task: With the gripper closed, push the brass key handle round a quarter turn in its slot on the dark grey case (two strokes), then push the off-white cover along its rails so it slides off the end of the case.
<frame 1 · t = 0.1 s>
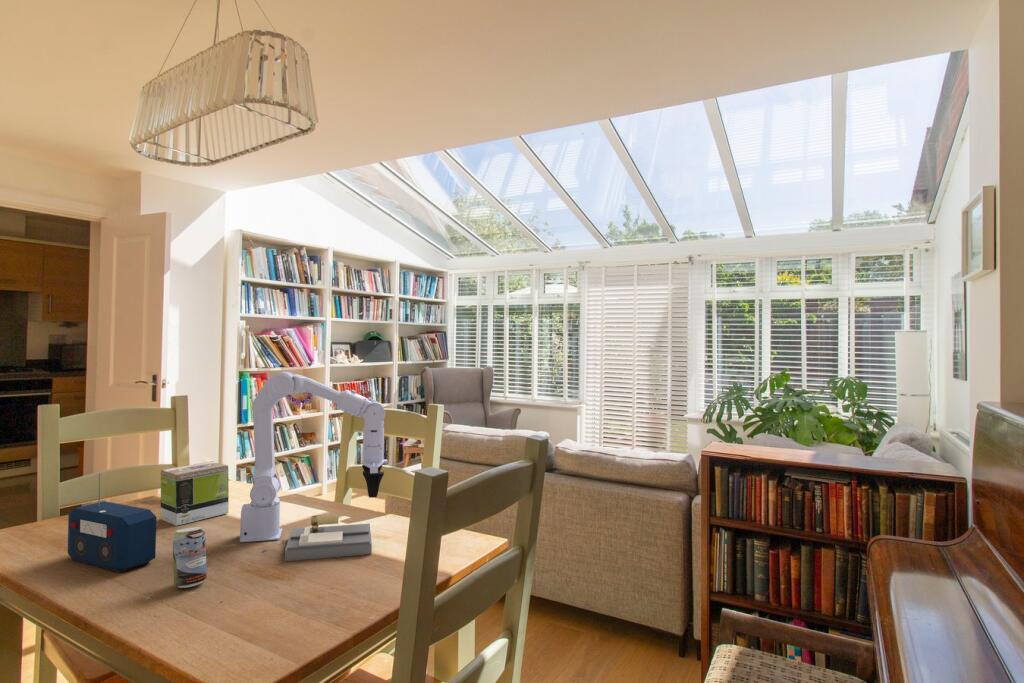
hand: (372, 493, 156), 10 cm above the table, fingers open, 7 cm apart
tea box: (194, 517, 164), on the table
case: (330, 545, 143), on the table
cover: (321, 535, 139), point 4 cm above the table, slide at 0.0 cm
beverage can: (189, 585, 119), on the table
key: (324, 522, 147), point 5 cm above the table, hinge at 0.0°
radio: (110, 562, 131), on the table
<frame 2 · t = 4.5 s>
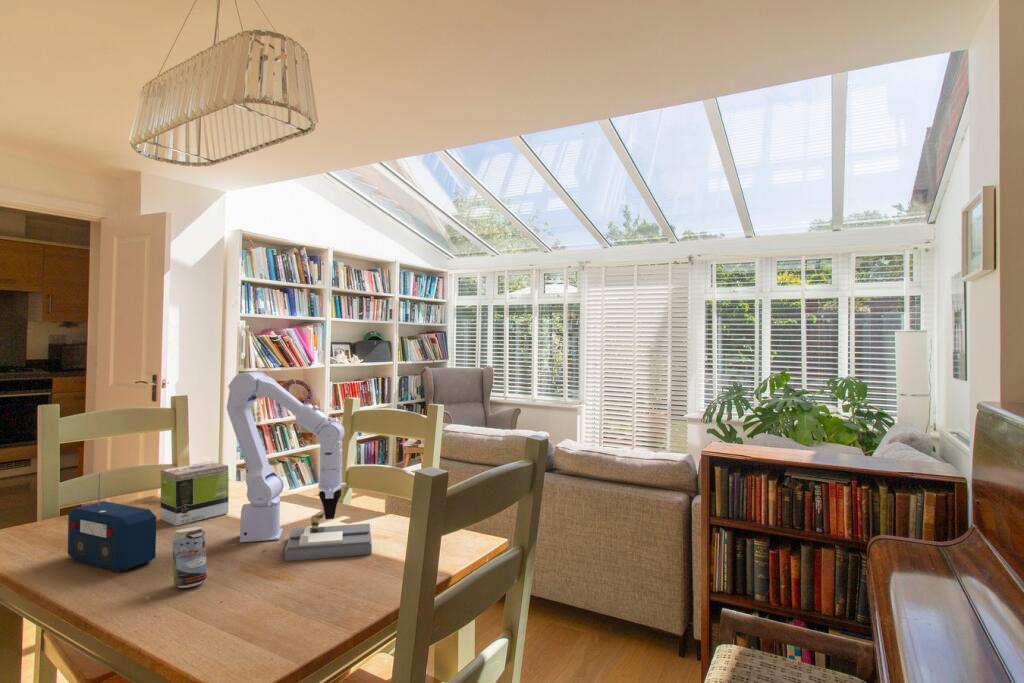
hand: (329, 518, 150), 5 cm above the table, fingers closed
key: (319, 520, 149), point 5 cm above the table, hinge at 68.0°, touching gripper
everything else where it was.
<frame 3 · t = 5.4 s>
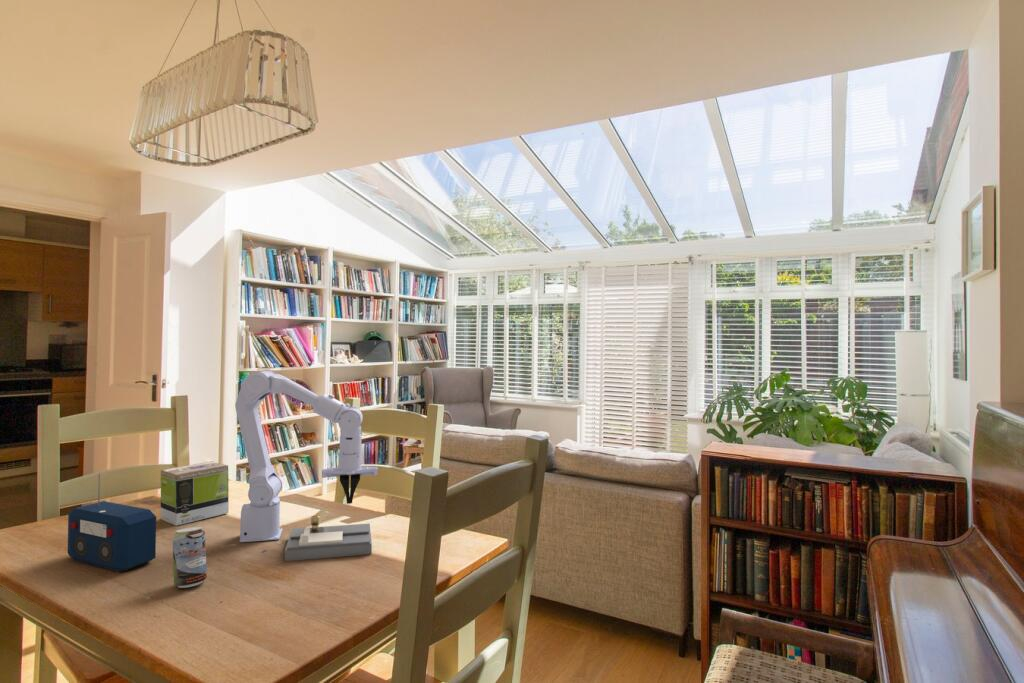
hand: (349, 502, 152), 9 cm above the table, fingers closed
key: (318, 520, 149), point 5 cm above the table, hinge at 71.7°
everything else where it was.
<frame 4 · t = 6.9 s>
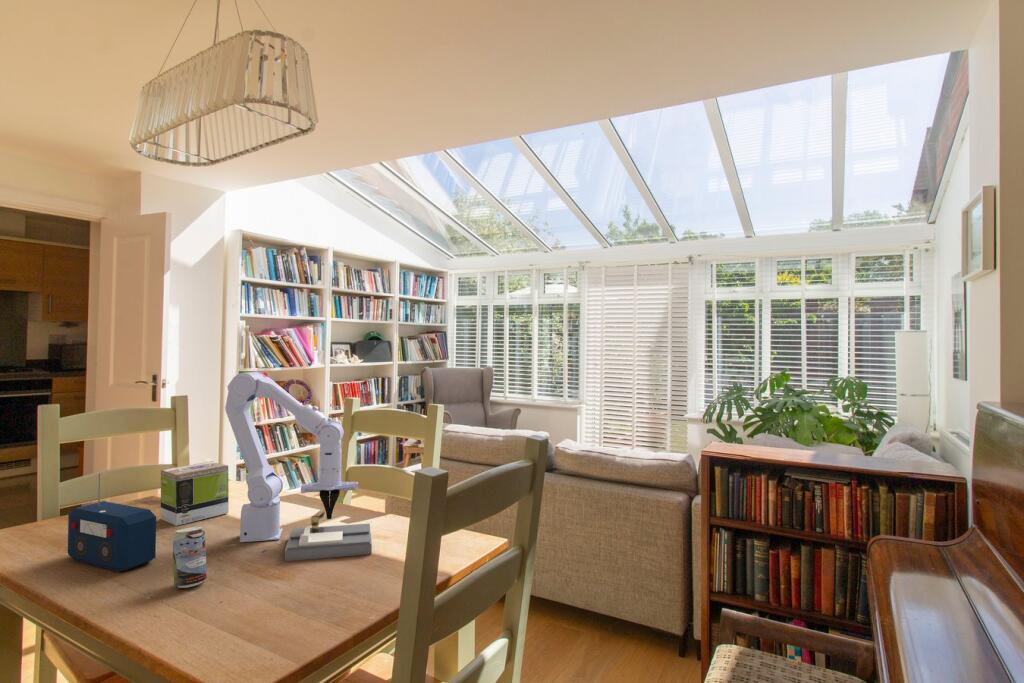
hand: (329, 518, 151), 5 cm above the table, fingers closed, pressing on key
key: (318, 520, 149), point 5 cm above the table, hinge at 72.5°, touching gripper
everything else where it was.
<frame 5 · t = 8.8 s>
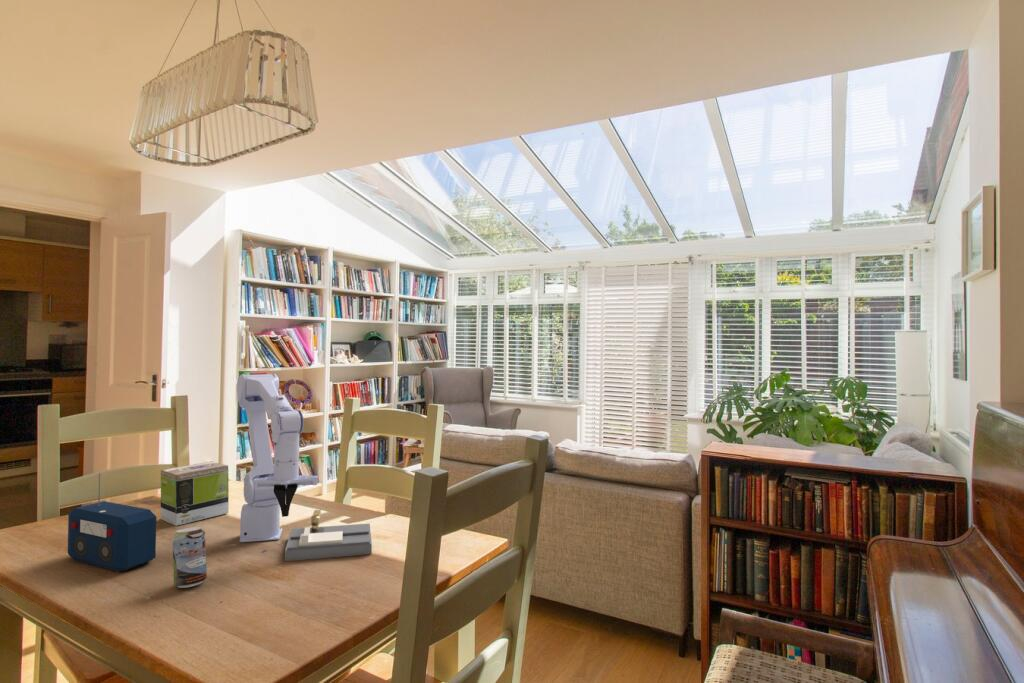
hand: (285, 515, 137), 9 cm above the table, fingers closed
key: (316, 520, 149), point 5 cm above the table, hinge at 87.2°
everything else where it was.
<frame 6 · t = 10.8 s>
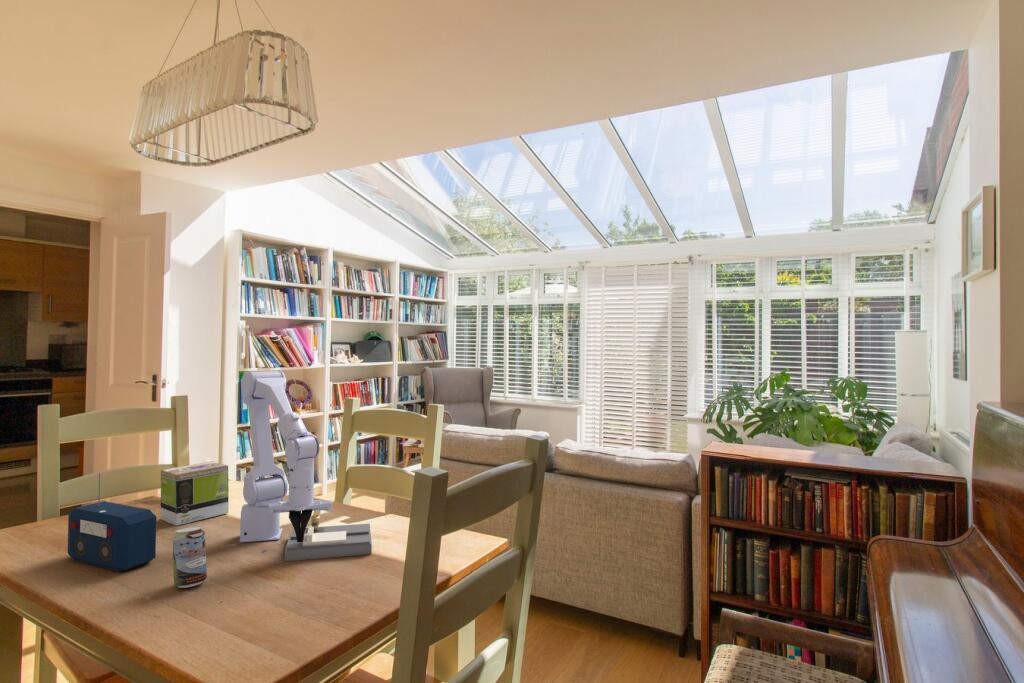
hand: (300, 540, 137), 3 cm above the table, fingers closed
cover: (325, 535, 139), point 4 cm above the table, slide at 0.9 cm, touching gripper
key: (316, 520, 149), point 5 cm above the table, hinge at 88.0°
everything else where it was.
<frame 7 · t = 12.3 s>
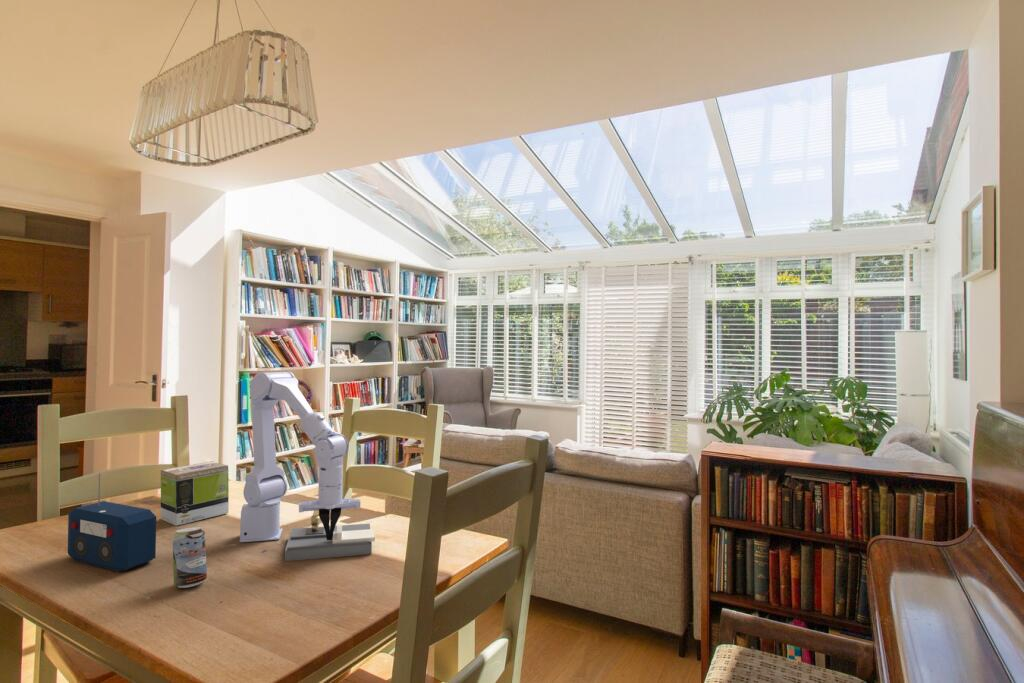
hand: (329, 538, 139), 3 cm above the table, fingers closed
cover: (353, 533, 141), point 4 cm above the table, slide at 7.7 cm, touching gripper
everything else where it was.
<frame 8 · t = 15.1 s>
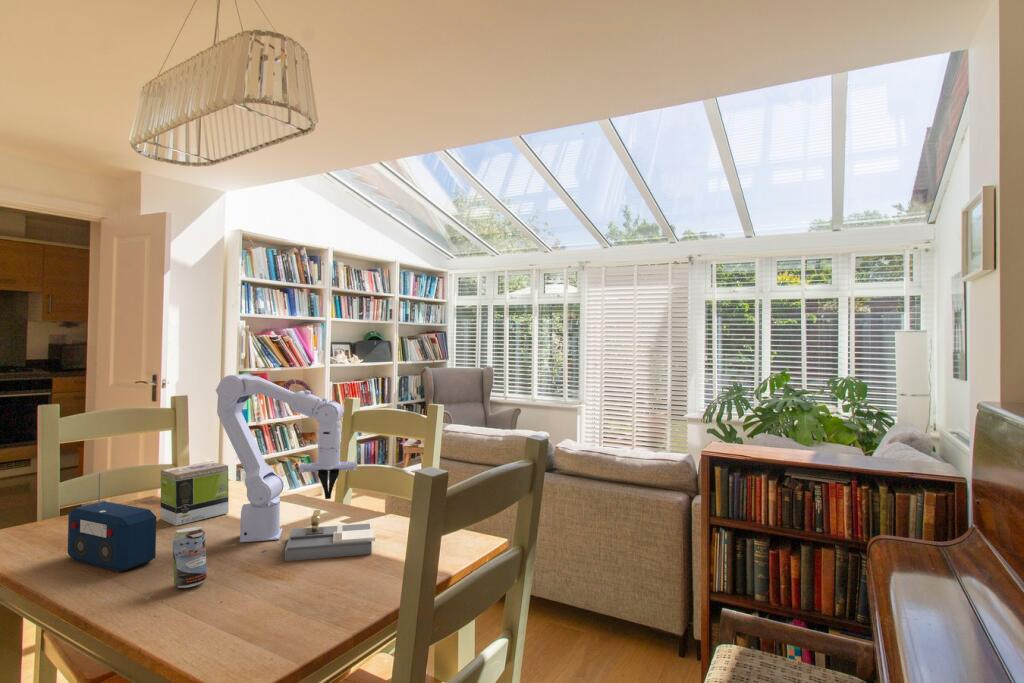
hand: (328, 498, 150), 10 cm above the table, fingers closed
cover: (354, 533, 141), point 4 cm above the table, slide at 7.8 cm
everything else where it was.
at the end: key at +88° (first picture: +0°); cover slide at 7.8 cm; the gripper is holding nothing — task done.
